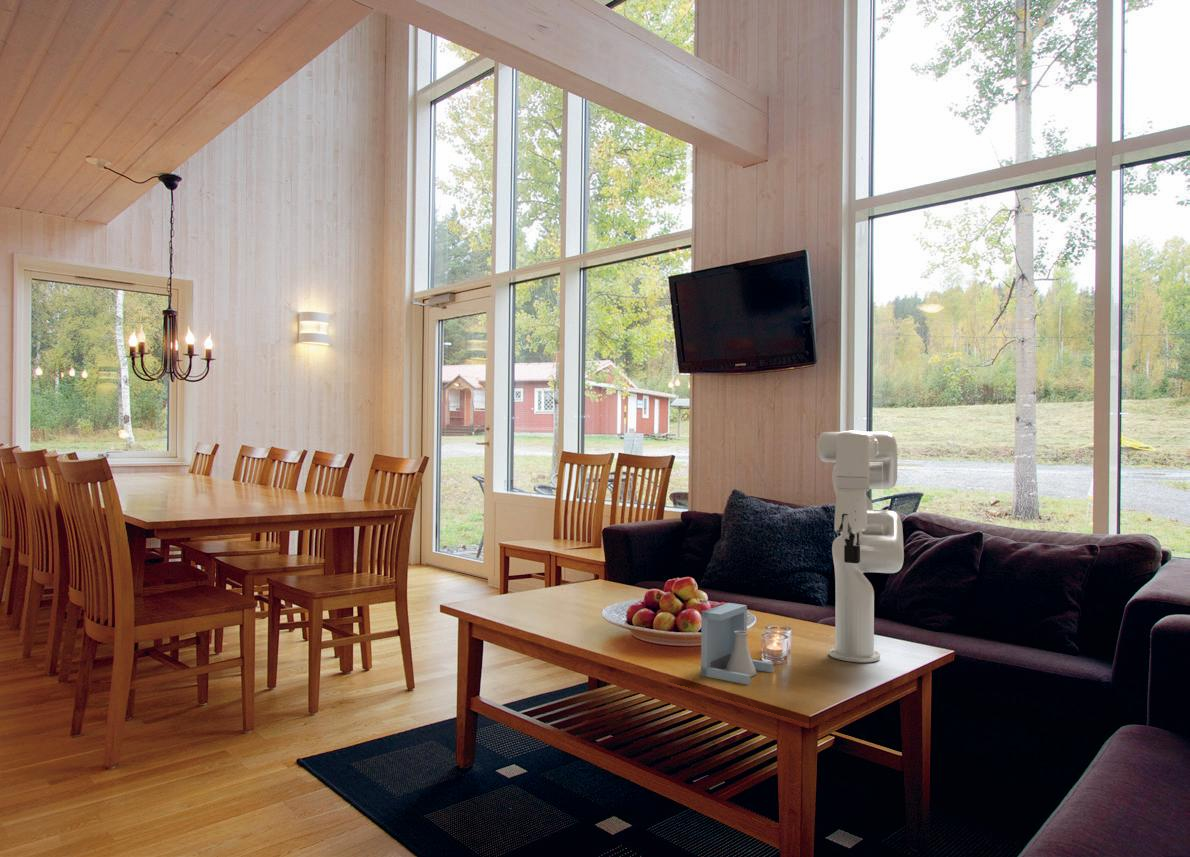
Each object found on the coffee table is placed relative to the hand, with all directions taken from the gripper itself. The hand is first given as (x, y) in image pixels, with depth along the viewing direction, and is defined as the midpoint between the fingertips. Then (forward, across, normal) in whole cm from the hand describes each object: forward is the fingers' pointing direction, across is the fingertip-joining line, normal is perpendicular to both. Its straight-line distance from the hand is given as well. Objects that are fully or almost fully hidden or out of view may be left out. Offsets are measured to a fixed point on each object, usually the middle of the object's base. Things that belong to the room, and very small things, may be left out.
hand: (852, 562), depth 191 cm
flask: (+27, +13, -22) cm, 38 cm away
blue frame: (+27, +13, -23) cm, 38 cm away
